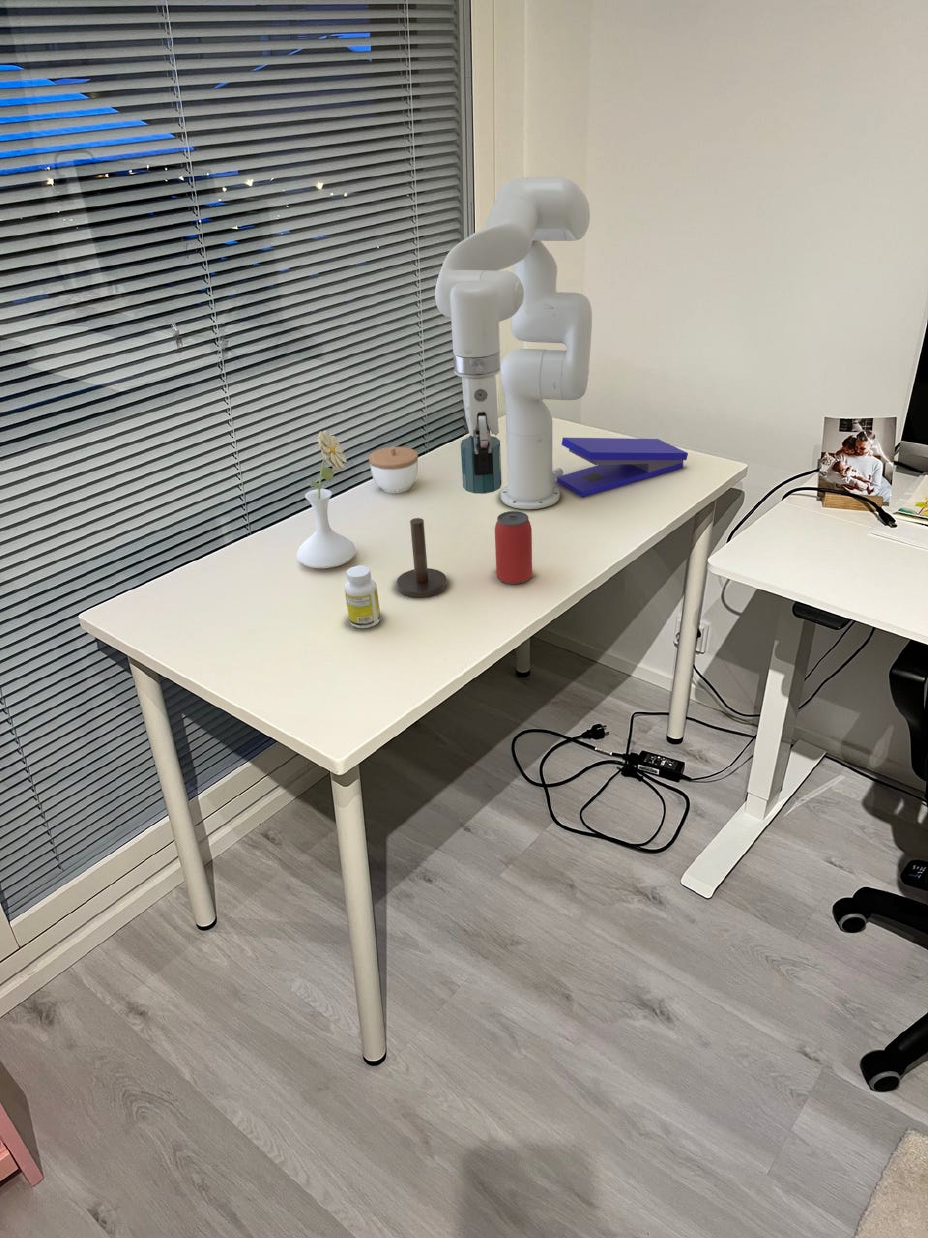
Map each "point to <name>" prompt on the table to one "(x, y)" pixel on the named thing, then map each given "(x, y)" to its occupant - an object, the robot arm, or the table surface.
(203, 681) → the table surface
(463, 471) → the teal wooden cylinder
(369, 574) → the supplement bottle
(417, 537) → the holder
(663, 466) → the stapler
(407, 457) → the trinket box
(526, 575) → the beer can
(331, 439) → the flower in vase
